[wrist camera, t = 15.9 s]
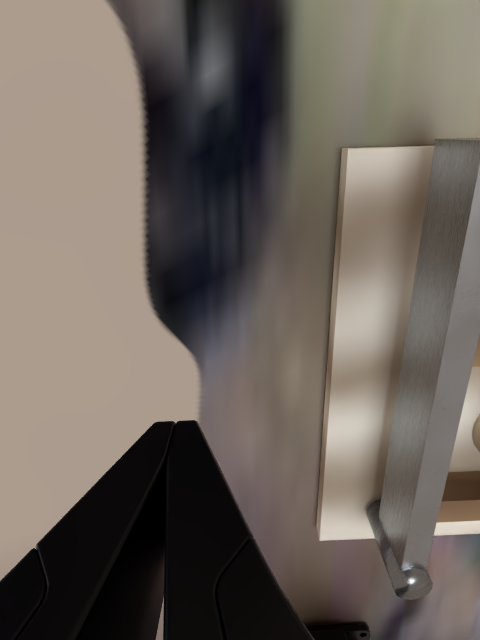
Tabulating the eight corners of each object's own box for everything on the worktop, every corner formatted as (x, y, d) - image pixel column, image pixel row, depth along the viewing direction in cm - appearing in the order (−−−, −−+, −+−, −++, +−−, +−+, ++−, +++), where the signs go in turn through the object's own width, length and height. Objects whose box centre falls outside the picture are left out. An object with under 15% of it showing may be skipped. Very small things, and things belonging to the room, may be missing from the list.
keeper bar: (395, 521, 25) (429, 598, 21) (364, 522, 25) (392, 600, 21) (461, 137, 16) (541, 138, 12) (415, 138, 16) (480, 140, 12)
